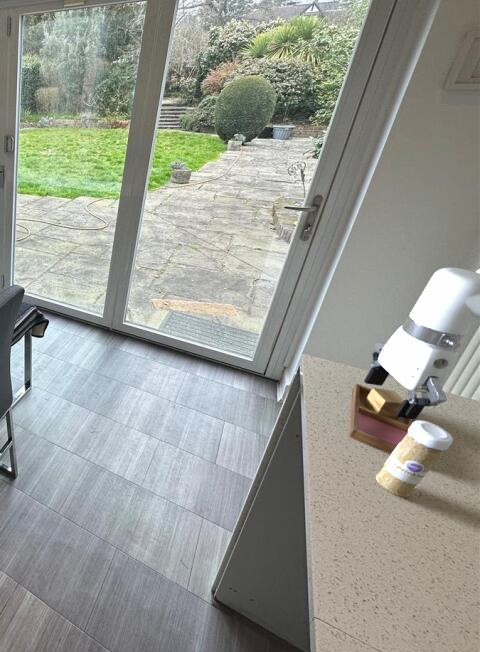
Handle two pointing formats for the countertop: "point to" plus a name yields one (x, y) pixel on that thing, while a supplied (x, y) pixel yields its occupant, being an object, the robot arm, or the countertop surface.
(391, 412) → the oak block
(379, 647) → the countertop surface
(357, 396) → the tray
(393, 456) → the sprinkles bottle
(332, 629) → the countertop surface
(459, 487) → the countertop surface
